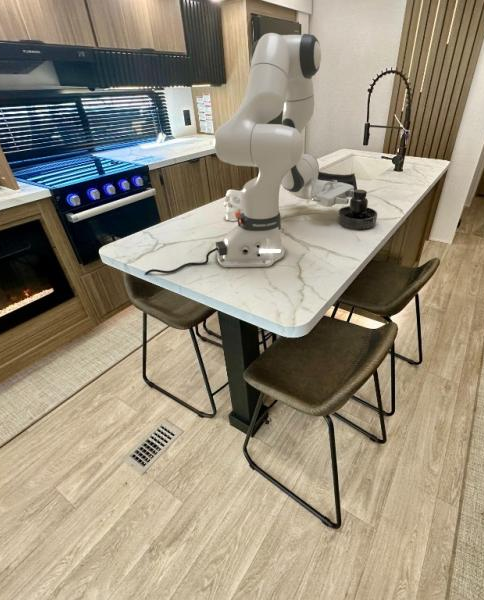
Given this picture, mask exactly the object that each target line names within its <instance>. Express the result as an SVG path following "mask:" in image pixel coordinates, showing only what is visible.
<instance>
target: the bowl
mask: <svg viewBox="0 0 484 600" xmlns="http://www.w3.org/2000/svg"><path fill="white" fill-rule="evenodd" d="M349 207H350V205H347V206H343V207H341V208H339V209H338V212H337V222H338V223H339V225H341V226H343V227H346V228H350V229H355V230H361V229H363V230H364V229H371V228H373V227H374V226H375V225H376V224H377V219H378V215H379V214H378V212H377V210H375V209H373V208H372V207H368V206H367V212H366V218H365V219H354V218H349V217H348V216H349Z"/></svg>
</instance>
